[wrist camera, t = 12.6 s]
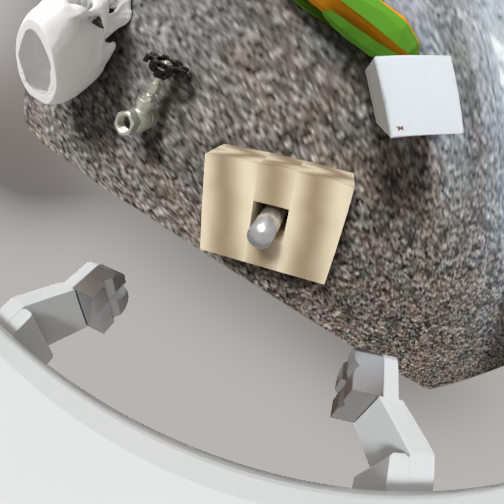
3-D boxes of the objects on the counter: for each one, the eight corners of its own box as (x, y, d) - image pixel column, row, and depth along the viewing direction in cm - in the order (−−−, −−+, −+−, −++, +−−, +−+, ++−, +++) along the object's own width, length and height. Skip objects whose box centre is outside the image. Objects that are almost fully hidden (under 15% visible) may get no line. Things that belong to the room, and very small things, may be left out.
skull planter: (158, -29, 25) (40, 15, 17) (146, 69, 43) (63, 129, 35) (101, -36, 25) (1, 8, 16) (100, 49, 43) (23, 101, 34)
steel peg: (291, 196, 41) (274, 228, 33) (288, 215, 42) (270, 251, 34) (270, 192, 41) (248, 222, 33) (267, 210, 43) (245, 245, 35)
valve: (160, 138, 42) (197, 72, 35) (133, 148, 37) (172, 71, 30) (131, 116, 41) (164, 52, 34) (103, 124, 36) (136, 50, 29)
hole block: (353, 173, 36) (354, 187, 31) (328, 260, 44) (324, 284, 39) (224, 144, 39) (205, 153, 35) (216, 230, 47) (200, 248, 42)
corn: (403, 77, 22) (243, -29, 20) (390, 82, 29) (260, -7, 26) (442, 34, 18) (283, -68, 16) (423, 46, 25) (293, -42, 23)
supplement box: (429, 120, 29) (465, 137, 19) (375, 124, 32) (388, 140, 22) (419, 64, 26) (452, 54, 16) (363, 67, 29) (371, 56, 18)
